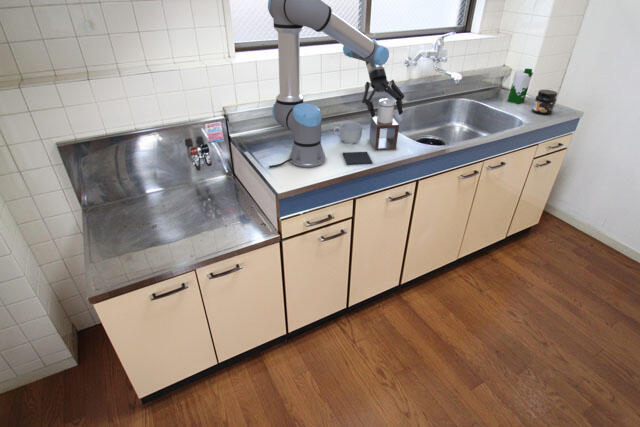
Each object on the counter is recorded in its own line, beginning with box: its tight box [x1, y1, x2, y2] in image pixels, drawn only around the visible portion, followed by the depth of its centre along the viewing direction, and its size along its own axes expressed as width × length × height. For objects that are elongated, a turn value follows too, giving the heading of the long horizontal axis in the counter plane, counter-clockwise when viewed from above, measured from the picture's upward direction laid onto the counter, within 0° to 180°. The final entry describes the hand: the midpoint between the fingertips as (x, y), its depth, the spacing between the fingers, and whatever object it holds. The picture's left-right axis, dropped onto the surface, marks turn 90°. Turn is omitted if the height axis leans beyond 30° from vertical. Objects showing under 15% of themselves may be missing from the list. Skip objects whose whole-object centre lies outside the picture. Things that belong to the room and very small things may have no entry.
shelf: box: [368, 115, 400, 152], centre depth 180 cm, size 10×12×12 cm
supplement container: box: [531, 89, 558, 116], centre depth 221 cm, size 10×10×12 cm
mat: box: [342, 151, 373, 166], centre depth 170 cm, size 11×11×1 cm
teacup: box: [332, 121, 363, 145], centre depth 184 cm, size 14×11×8 cm
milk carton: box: [507, 68, 534, 105], centre depth 236 cm, size 9×9×20 cm
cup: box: [376, 98, 396, 123], centre depth 174 cm, size 7×7×9 cm
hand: (387, 115), depth 173 cm, fingers open, 13 cm apart
